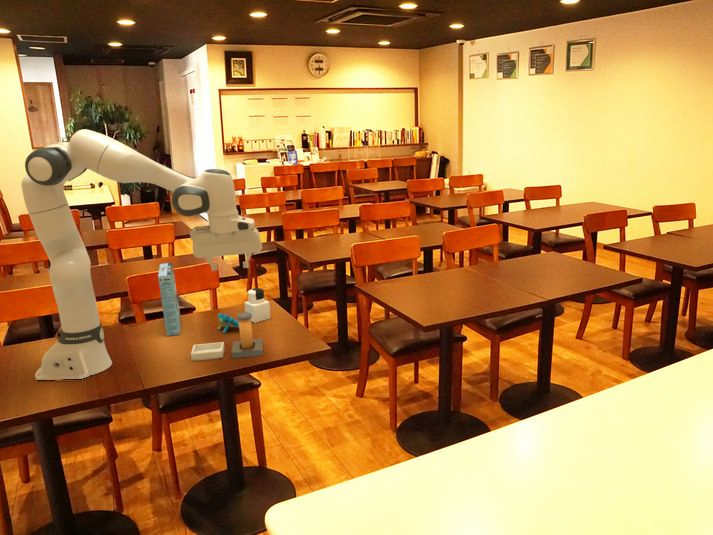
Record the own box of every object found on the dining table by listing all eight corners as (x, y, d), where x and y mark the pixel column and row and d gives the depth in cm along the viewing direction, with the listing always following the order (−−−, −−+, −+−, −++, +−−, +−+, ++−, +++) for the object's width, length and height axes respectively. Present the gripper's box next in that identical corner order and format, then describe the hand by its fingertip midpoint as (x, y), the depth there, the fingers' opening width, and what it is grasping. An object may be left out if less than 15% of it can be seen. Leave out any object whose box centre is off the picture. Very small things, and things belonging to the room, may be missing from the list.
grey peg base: (231, 358, 192) (231, 352, 192) (233, 346, 202) (233, 341, 201) (262, 355, 194) (262, 349, 193) (262, 344, 203) (262, 338, 203)
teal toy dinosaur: (248, 326, 216) (228, 312, 210) (241, 340, 214) (220, 327, 208) (232, 323, 224) (213, 310, 218) (225, 337, 222) (205, 324, 216)
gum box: (180, 334, 215) (172, 275, 209) (165, 336, 214) (157, 276, 208) (180, 317, 234) (173, 262, 227) (167, 319, 232) (159, 263, 226)
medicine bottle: (261, 314, 233) (258, 285, 230) (271, 319, 227) (268, 289, 224) (245, 319, 228) (242, 289, 225) (255, 323, 223) (252, 293, 220)
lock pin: (240, 354, 195) (236, 317, 192) (240, 349, 200) (237, 313, 196) (254, 353, 196) (251, 316, 192) (255, 347, 200) (251, 311, 197)
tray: (191, 361, 192) (190, 354, 191) (194, 351, 199) (193, 344, 199) (222, 358, 193) (221, 351, 192) (224, 348, 201) (223, 342, 200)
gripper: (186, 229, 170) (193, 274, 174) (257, 223, 171) (262, 268, 175) (191, 224, 176) (198, 269, 180) (259, 219, 177) (264, 263, 181)
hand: (230, 268), depth 178 cm, fingers open, 8 cm apart
